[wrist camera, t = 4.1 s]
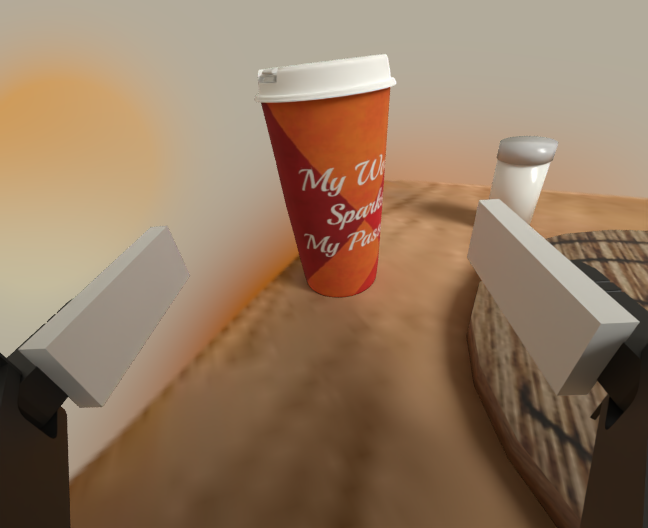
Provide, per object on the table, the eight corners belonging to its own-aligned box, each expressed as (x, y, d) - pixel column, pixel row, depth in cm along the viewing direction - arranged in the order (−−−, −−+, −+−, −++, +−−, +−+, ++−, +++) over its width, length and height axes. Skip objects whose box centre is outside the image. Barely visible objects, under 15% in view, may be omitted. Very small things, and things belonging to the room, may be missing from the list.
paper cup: (328, 325, 19) (292, 65, 11) (276, 271, 25) (228, 73, 17) (413, 276, 22) (433, 47, 14) (350, 238, 28) (339, 58, 20)
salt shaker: (516, 214, 28) (540, 134, 24) (538, 233, 25) (570, 145, 21) (475, 217, 29) (492, 139, 25) (492, 236, 26) (514, 150, 21)
